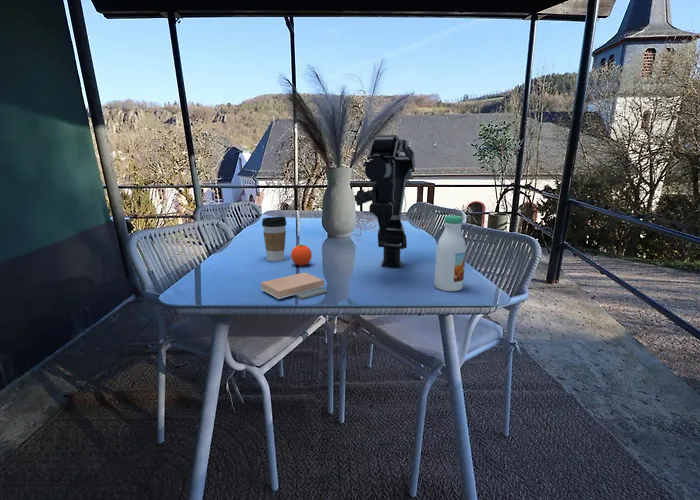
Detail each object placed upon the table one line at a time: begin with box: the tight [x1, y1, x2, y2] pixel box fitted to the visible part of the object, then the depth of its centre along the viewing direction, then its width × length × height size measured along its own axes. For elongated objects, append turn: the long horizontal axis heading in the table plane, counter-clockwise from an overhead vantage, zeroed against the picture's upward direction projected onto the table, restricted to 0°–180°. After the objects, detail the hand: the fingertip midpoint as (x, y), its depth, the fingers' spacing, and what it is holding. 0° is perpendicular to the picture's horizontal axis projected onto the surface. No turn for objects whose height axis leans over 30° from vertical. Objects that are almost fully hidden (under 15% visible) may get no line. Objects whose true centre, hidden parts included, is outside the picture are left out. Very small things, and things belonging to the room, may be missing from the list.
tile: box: [260, 271, 325, 300], centre depth 97 cm, size 2×9×14 cm
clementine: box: [290, 244, 313, 266], centre depth 121 cm, size 8×7×7 cm
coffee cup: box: [261, 216, 287, 262], centre depth 127 cm, size 8×8×15 cm
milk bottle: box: [433, 215, 467, 292], centre depth 99 cm, size 8×8×20 cm
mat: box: [292, 287, 328, 301], centre depth 99 cm, size 8×15×1 cm, turn 41°
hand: (382, 234), depth 107 cm, fingers closed
